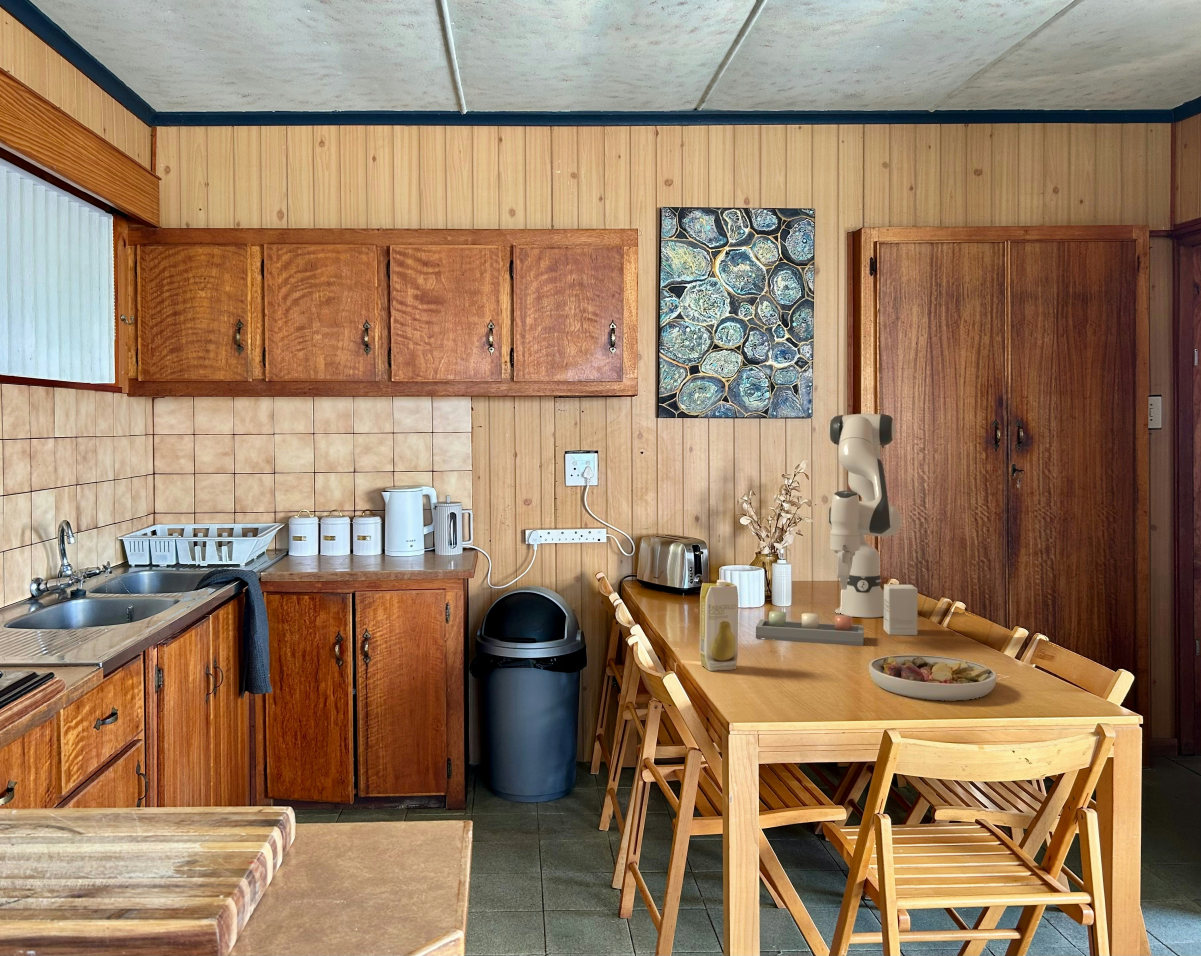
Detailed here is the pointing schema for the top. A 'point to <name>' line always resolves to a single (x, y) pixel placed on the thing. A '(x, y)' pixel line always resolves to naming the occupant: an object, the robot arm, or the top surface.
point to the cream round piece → (810, 621)
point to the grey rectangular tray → (811, 633)
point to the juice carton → (719, 626)
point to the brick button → (843, 622)
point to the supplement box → (900, 609)
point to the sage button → (777, 619)
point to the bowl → (932, 677)
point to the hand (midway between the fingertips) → (843, 589)
